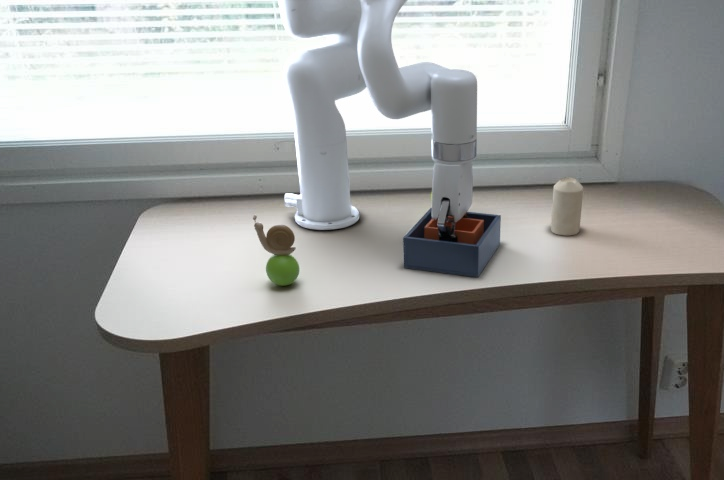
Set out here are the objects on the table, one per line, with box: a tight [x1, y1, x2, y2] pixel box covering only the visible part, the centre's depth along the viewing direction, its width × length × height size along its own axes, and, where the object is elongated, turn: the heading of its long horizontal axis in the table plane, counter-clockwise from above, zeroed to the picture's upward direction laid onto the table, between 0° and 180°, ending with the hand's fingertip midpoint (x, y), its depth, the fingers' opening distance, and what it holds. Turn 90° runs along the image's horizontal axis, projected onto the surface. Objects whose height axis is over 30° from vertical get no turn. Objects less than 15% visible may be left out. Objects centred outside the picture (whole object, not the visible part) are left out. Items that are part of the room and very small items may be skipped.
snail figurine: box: [252, 214, 300, 287], centre depth 136 cm, size 5×6×12 cm
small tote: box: [424, 216, 484, 245], centre depth 147 cm, size 9×6×6 cm
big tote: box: [402, 207, 502, 278], centre depth 148 cm, size 13×15×6 cm
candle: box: [550, 176, 584, 236], centre depth 157 cm, size 6×6×10 cm
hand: (454, 249), depth 148 cm, fingers closed on small tote, 6 cm apart
